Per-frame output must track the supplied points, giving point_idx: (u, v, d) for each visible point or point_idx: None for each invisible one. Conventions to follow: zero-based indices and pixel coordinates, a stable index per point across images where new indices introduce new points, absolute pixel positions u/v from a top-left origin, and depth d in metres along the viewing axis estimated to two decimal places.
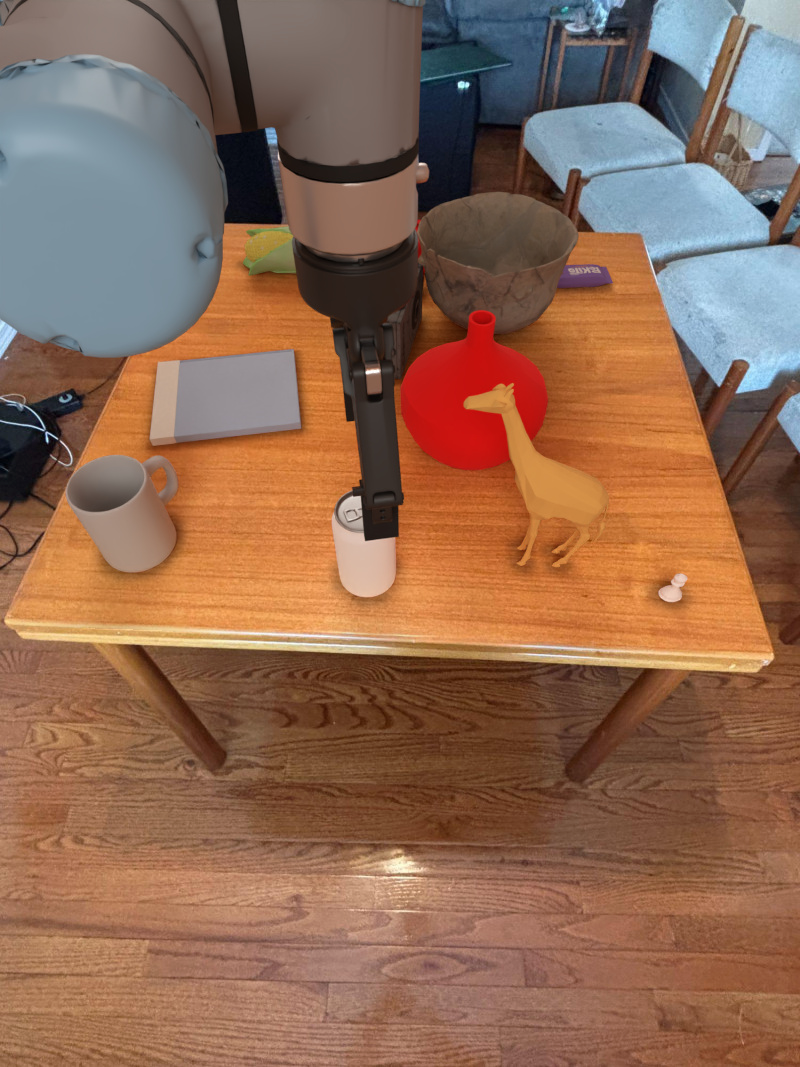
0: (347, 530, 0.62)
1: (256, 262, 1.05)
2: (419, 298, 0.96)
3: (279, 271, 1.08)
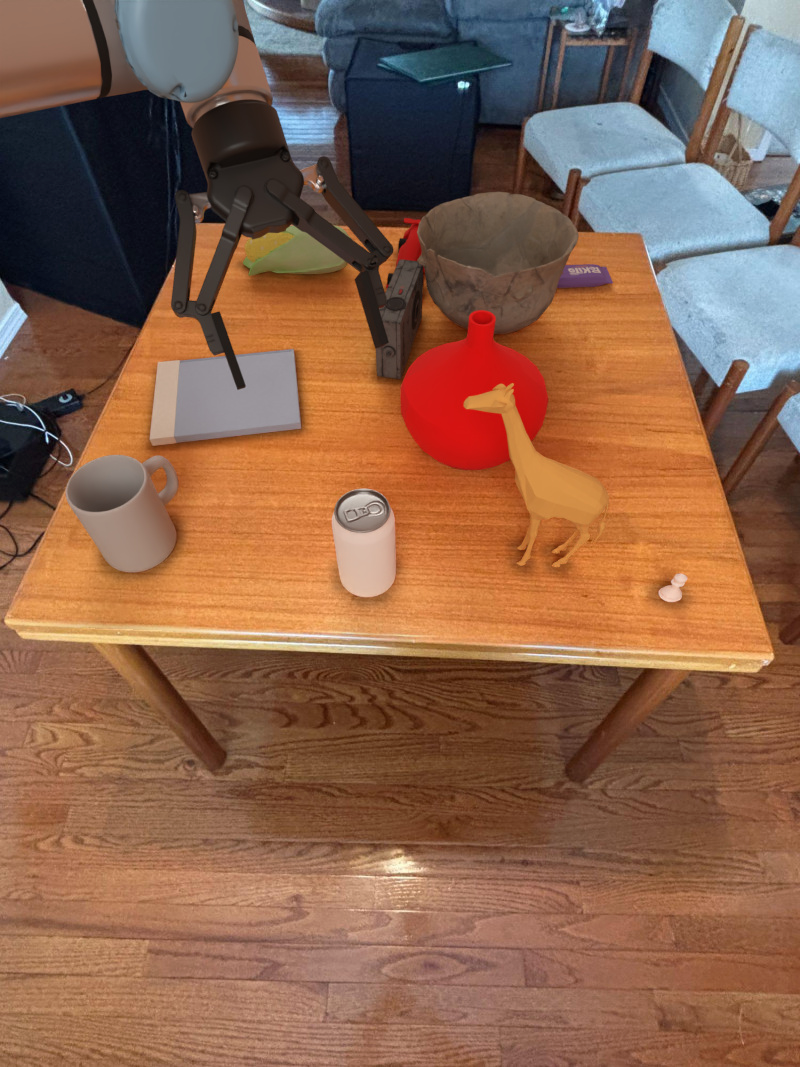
0: (347, 530, 0.62)
1: (256, 262, 1.05)
2: (419, 298, 0.96)
3: (279, 271, 1.08)
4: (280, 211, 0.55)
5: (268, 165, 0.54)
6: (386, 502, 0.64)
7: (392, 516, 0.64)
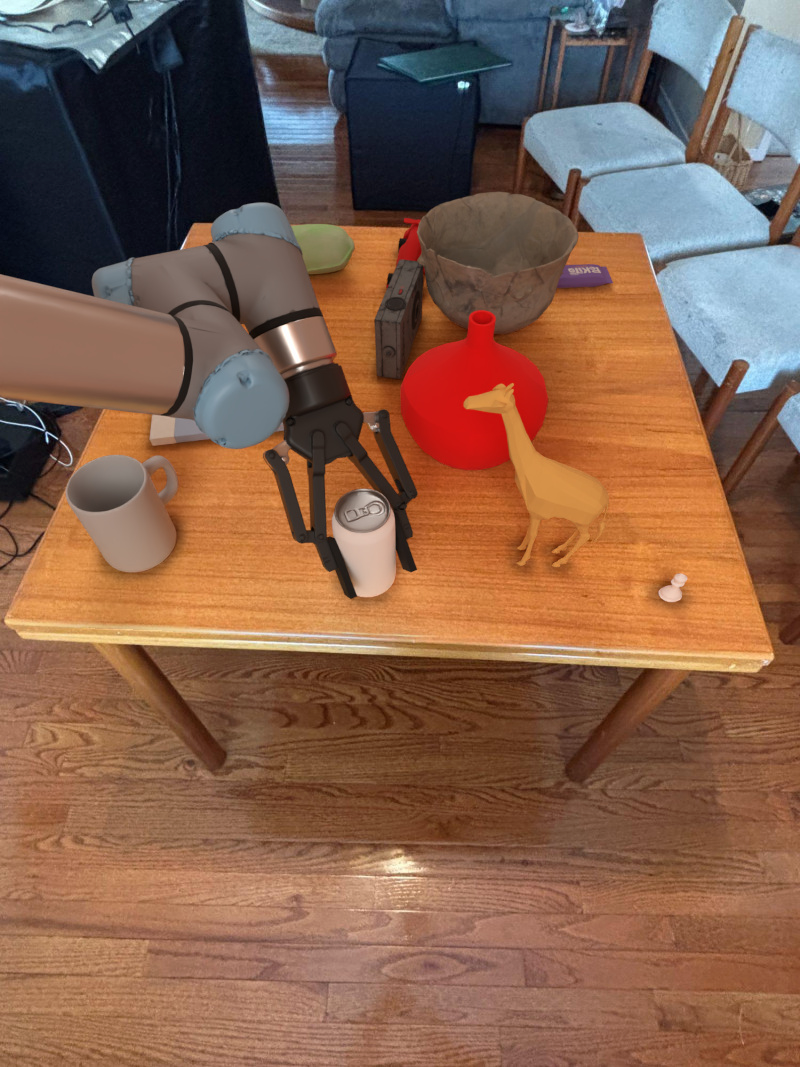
0: (347, 530, 0.62)
1: None
2: (419, 298, 0.96)
3: None
4: (346, 445, 0.64)
5: (336, 410, 0.64)
6: (386, 502, 0.64)
7: (392, 516, 0.64)
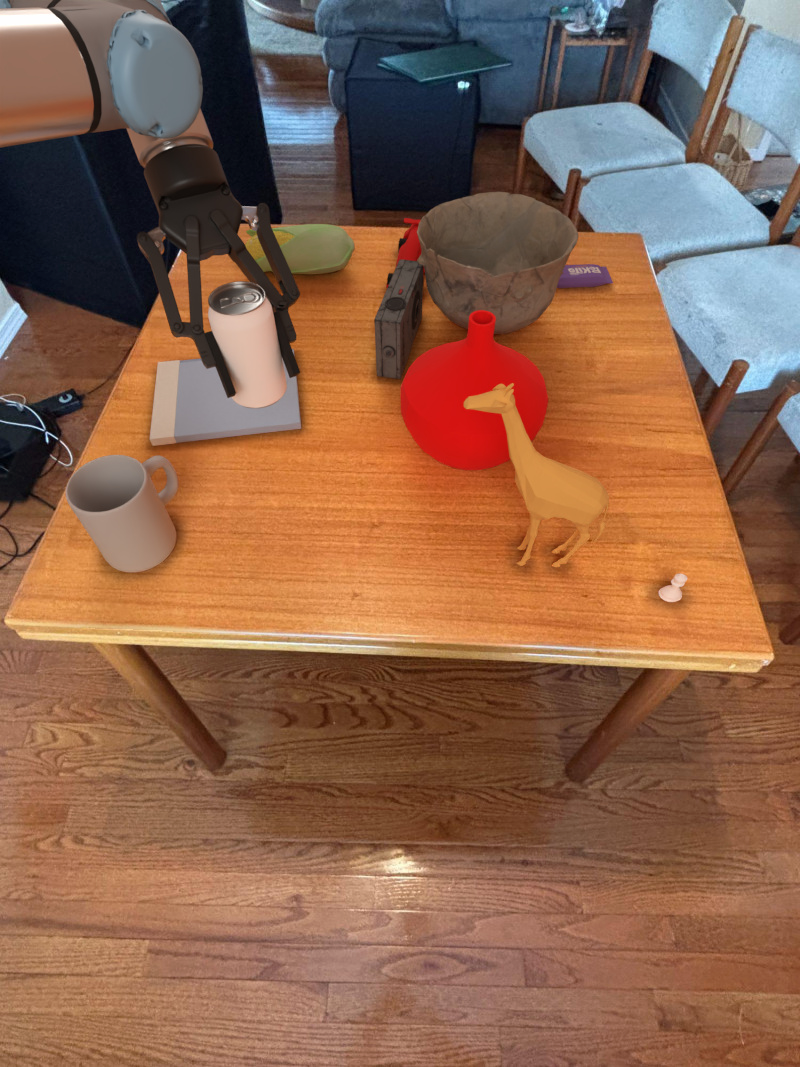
0: (219, 313, 0.61)
1: None
2: (419, 298, 0.96)
3: None
4: (223, 236, 0.64)
5: (212, 198, 0.63)
6: (262, 292, 0.63)
7: (268, 307, 0.64)
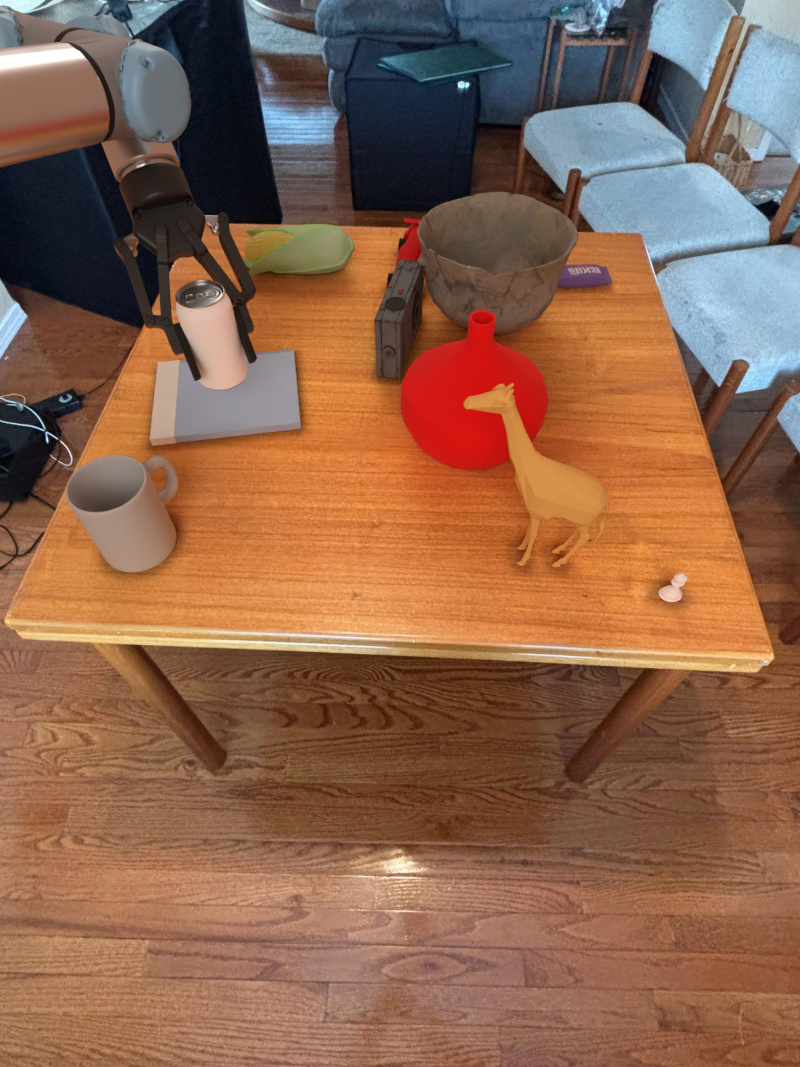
0: (184, 307, 0.72)
1: (256, 262, 1.05)
2: (419, 298, 0.96)
3: (279, 271, 1.08)
4: (188, 241, 0.74)
5: (178, 208, 0.74)
6: (222, 289, 0.74)
7: (227, 301, 0.74)
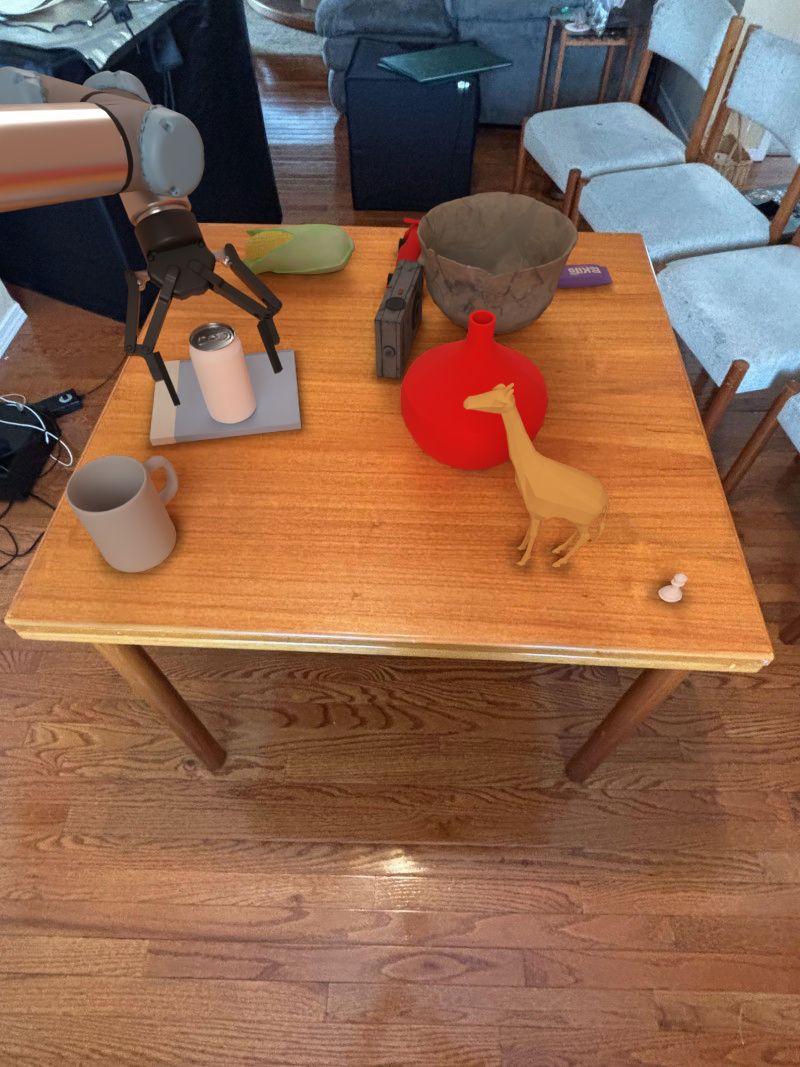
0: (197, 350, 0.77)
1: (256, 262, 1.05)
2: (419, 298, 0.96)
3: (279, 271, 1.08)
4: (199, 281, 0.78)
5: (190, 250, 0.78)
6: (233, 331, 0.79)
7: (238, 343, 0.79)
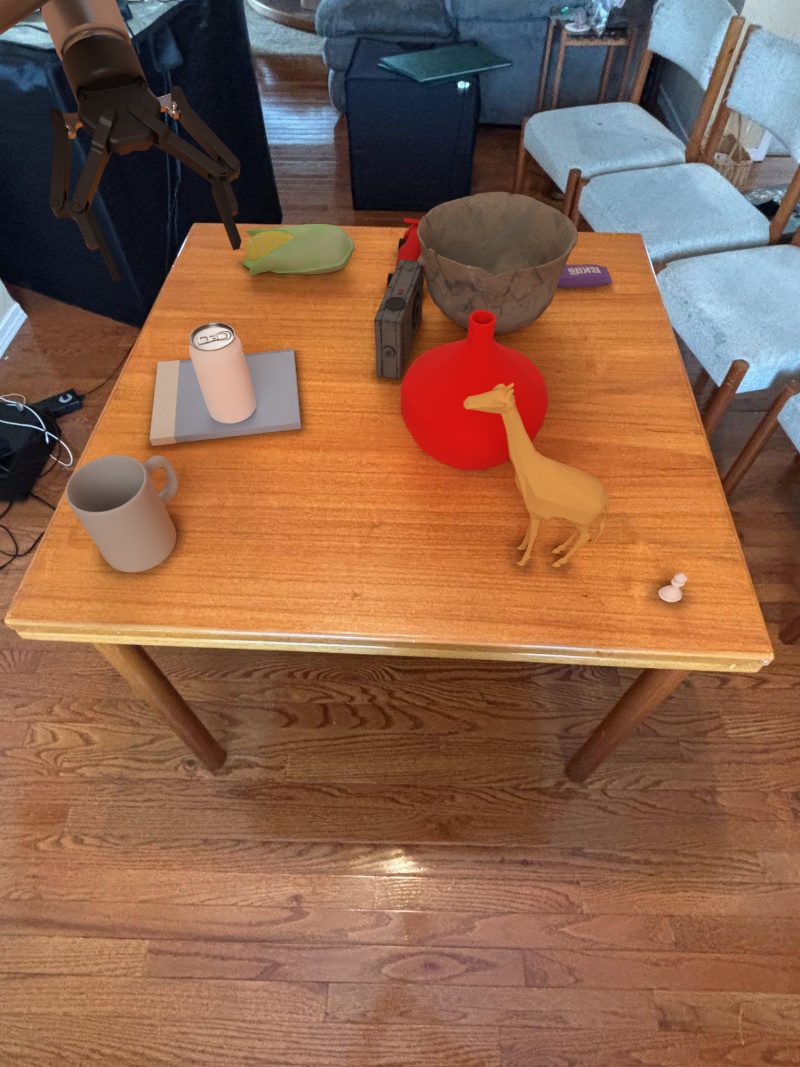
0: (197, 350, 0.77)
1: (256, 262, 1.05)
2: (419, 298, 0.96)
3: (279, 271, 1.08)
4: (141, 129, 0.67)
5: (129, 92, 0.66)
6: (233, 331, 0.79)
7: (238, 343, 0.79)
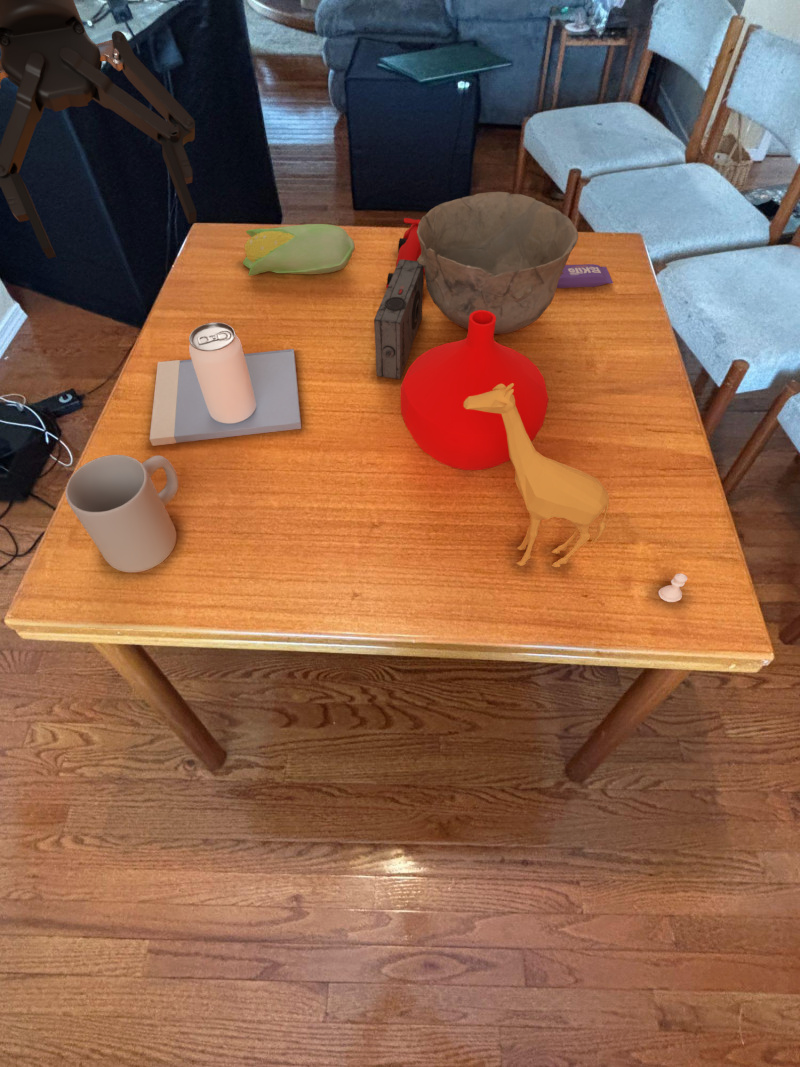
0: (197, 350, 0.77)
1: (256, 262, 1.05)
2: (419, 298, 0.96)
3: (279, 271, 1.08)
4: (76, 80, 0.57)
5: (62, 36, 0.57)
6: (233, 331, 0.79)
7: (238, 343, 0.79)
